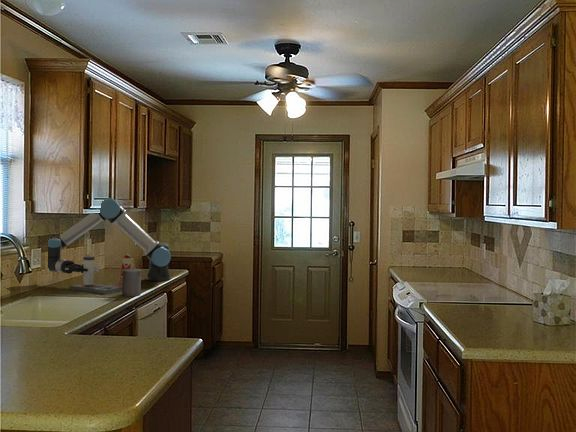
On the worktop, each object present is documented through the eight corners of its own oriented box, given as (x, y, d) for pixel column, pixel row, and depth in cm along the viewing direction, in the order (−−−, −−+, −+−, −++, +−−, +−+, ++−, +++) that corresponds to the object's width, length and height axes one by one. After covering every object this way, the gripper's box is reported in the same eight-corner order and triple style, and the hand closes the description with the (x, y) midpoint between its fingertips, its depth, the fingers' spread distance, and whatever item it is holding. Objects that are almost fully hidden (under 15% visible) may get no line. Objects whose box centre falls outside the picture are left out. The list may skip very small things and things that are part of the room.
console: (69, 289, 317) (69, 285, 317) (88, 286, 330) (88, 282, 330) (104, 294, 306) (104, 290, 306) (122, 290, 319) (122, 286, 319)
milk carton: (132, 287, 330) (133, 253, 329) (117, 287, 330) (117, 253, 329) (137, 285, 339) (138, 252, 338) (122, 284, 339) (122, 251, 338)
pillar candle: (119, 294, 308) (120, 266, 308) (136, 292, 314) (137, 265, 314) (126, 297, 301) (126, 269, 300) (143, 295, 307) (144, 268, 306)
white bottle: (82, 284, 320) (83, 257, 319) (88, 283, 323) (89, 256, 323) (88, 285, 318) (89, 257, 317) (93, 284, 322) (94, 256, 321)
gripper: (76, 271, 336) (106, 275, 326) (53, 274, 320) (84, 278, 310) (77, 258, 336) (107, 262, 326) (53, 261, 320) (84, 264, 310)
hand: (95, 270), depth 318 cm, fingers open, 4 cm apart
